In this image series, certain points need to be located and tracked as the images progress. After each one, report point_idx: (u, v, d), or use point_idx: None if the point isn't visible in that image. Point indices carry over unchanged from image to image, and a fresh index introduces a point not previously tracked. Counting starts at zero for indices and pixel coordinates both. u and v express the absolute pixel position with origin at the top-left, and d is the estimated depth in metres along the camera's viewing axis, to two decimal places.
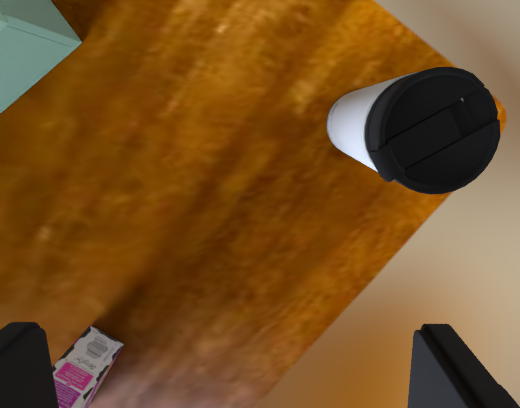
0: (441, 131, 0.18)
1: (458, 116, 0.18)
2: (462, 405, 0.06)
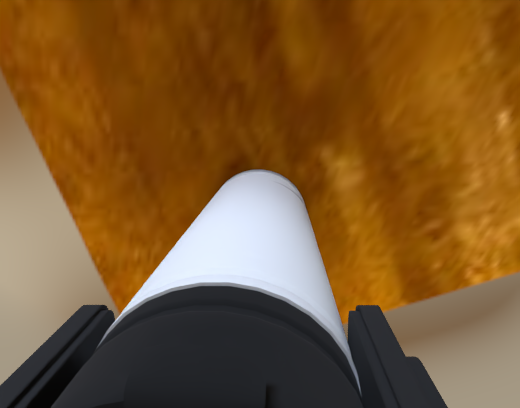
0: None
1: None
2: (370, 371, 0.07)
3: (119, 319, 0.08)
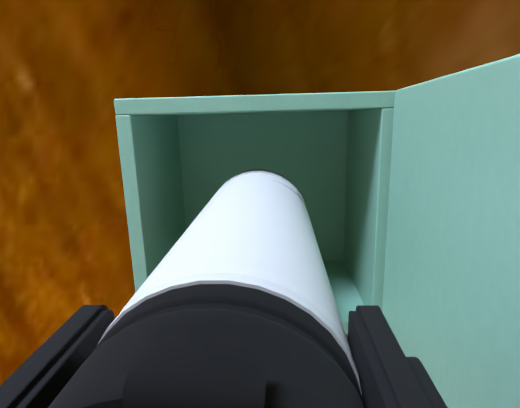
0: None
1: None
2: (370, 371, 0.07)
3: (119, 317, 0.08)
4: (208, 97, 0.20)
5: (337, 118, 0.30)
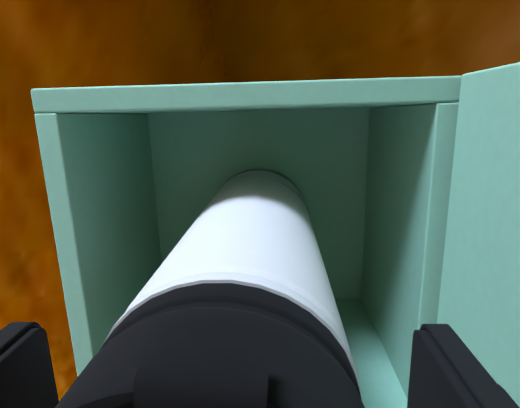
0: None
1: None
2: (461, 404, 0.06)
3: (125, 315, 0.08)
4: (172, 86, 0.13)
5: (355, 118, 0.23)
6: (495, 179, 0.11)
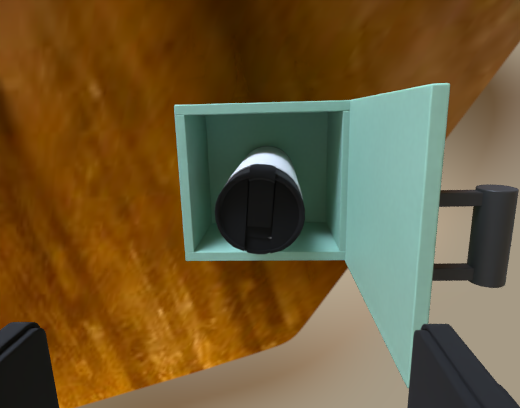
0: (258, 216, 0.25)
1: (261, 230, 0.26)
2: (462, 405, 0.06)
3: (231, 176, 0.27)
4: (234, 104, 0.32)
5: (320, 117, 0.42)
6: (355, 139, 0.29)
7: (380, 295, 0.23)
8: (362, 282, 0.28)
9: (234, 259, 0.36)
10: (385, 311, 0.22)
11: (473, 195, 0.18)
